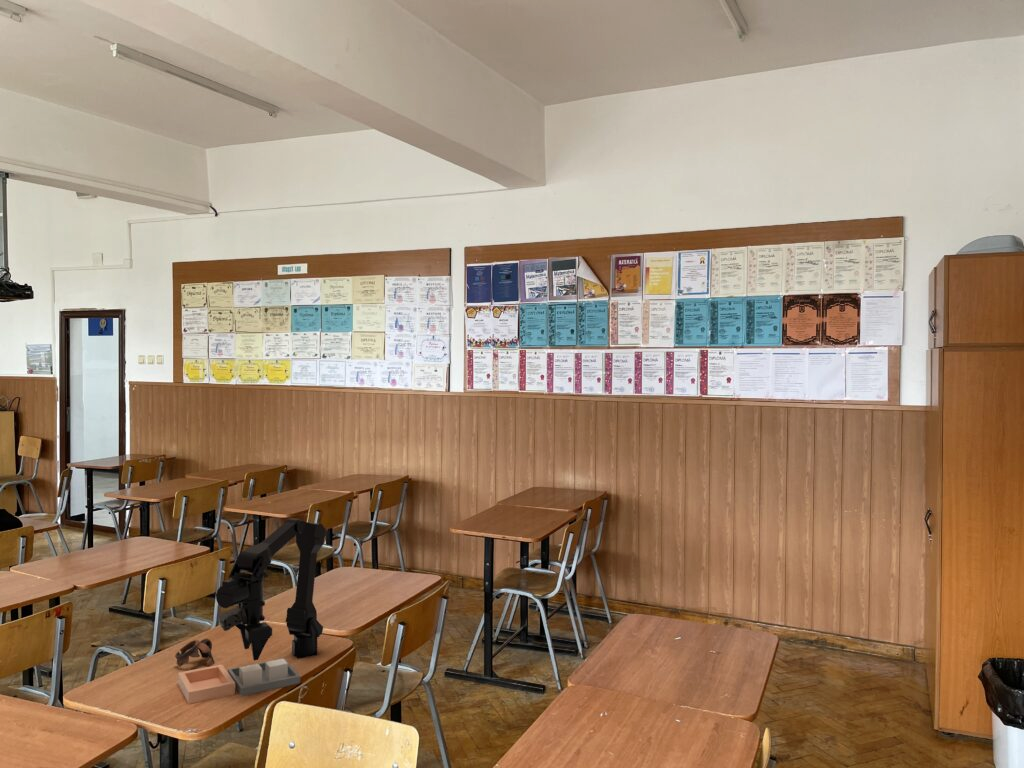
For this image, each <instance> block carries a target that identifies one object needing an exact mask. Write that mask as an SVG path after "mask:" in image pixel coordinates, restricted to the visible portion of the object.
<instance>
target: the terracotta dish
mask: <svg viewBox="0 0 1024 768" xmlns="http://www.w3.org/2000/svg"><path fill="white" fill-rule="evenodd" d="M177 685H178V687H179V689H180V691H181V692H182V695H183V696H184V698H185V700H186V702H187V704H188V705H189V704H195V703H200V702H205V701H209V700H214V699H218V698H219V699H220V698H222V697H227V696H232V695H235V694H236V688H235V682H234V680H233V679H232V678H231V676H230V675H229V673H228V669H227V668H226V667H225V666H224V665H223V664H216V665H211V666H210V667H208V666H207V667H201V668H196V669H192V670H191V669H190V670H185V671H180V672H178V673H177Z"/></svg>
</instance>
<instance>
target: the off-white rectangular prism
mask: <svg viewBox="0 0 1024 768" xmlns="http://www.w3.org/2000/svg"><path fill="white" fill-rule="evenodd" d="M278 659H279V660H277V659H273V660H274V661H272V660H267V661H268V662H267V661H264V662H265V677H266V678H267V679H268V681H273V680H278V679H282V678H287V677H288V663H289V662H288V661H287V660H286V659H285V658H284V659H285V660H286V661H287V662H288V663H287V662H286V661H285V660H284V659H282V658H278Z"/></svg>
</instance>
